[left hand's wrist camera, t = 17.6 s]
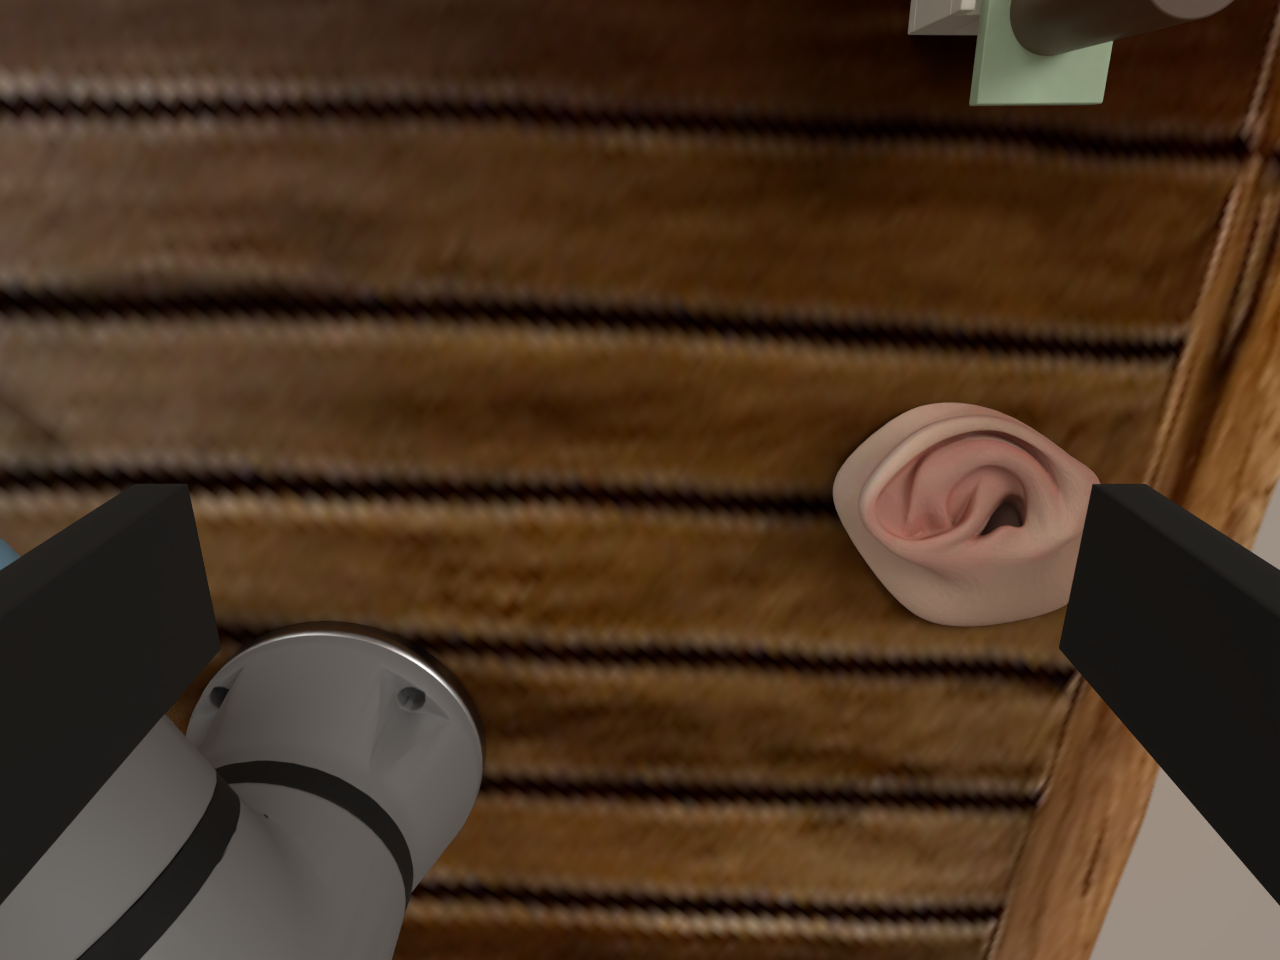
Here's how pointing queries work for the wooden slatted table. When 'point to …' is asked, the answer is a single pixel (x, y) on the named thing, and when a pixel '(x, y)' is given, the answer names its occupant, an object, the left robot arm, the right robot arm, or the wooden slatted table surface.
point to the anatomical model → (966, 514)
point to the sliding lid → (1062, 45)
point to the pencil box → (944, 17)
